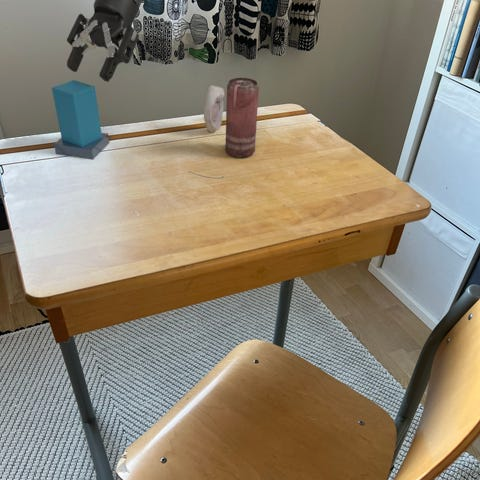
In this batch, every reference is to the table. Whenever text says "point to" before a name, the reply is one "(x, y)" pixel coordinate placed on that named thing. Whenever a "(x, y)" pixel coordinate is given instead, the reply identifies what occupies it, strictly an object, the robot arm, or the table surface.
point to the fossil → (213, 108)
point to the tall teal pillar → (77, 112)
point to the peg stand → (82, 148)
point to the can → (241, 117)
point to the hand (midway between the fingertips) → (87, 74)
